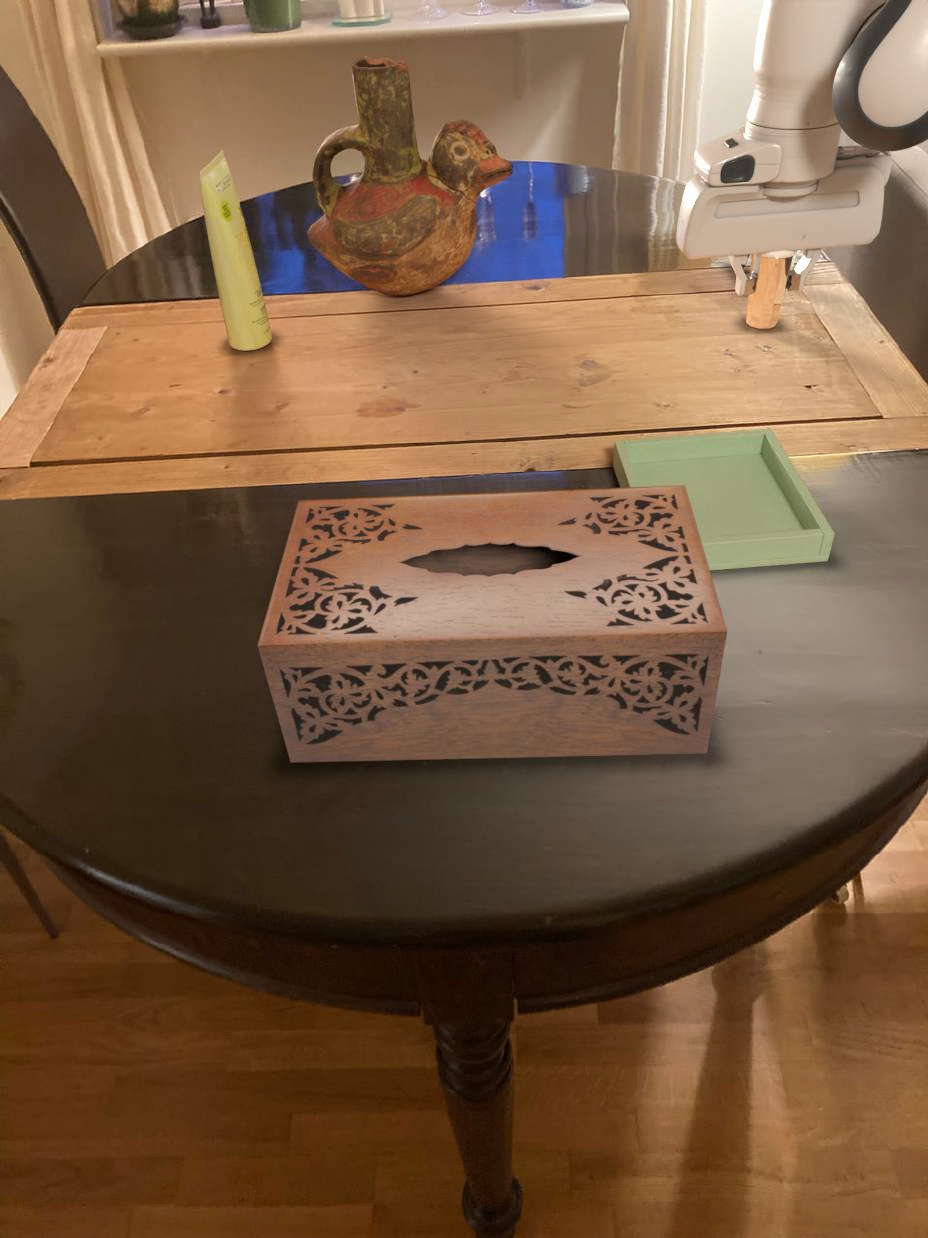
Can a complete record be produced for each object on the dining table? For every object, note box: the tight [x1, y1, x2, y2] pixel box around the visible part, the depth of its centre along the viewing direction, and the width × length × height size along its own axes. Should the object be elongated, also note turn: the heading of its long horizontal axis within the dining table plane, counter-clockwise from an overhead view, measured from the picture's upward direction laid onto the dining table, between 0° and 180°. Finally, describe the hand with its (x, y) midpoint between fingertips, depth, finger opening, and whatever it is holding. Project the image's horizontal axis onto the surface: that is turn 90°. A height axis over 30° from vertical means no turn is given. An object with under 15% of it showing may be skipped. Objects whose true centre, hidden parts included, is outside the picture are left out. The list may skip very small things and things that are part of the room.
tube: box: [199, 149, 273, 352], centre depth 99 cm, size 6×5×20 cm
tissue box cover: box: [257, 485, 728, 763], centre depth 59 cm, size 26×14×10 cm, turn 89°
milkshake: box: [745, 235, 806, 330], centre depth 98 cm, size 4×5×10 cm
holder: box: [612, 428, 836, 571], centre depth 75 cm, size 14×16×3 cm
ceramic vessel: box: [306, 55, 514, 296], centre depth 107 cm, size 17×26×25 cm, turn 80°
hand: (768, 291), depth 99 cm, fingers closed on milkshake, 4 cm apart
